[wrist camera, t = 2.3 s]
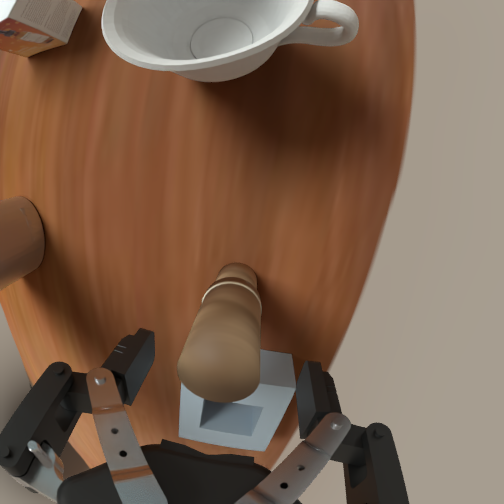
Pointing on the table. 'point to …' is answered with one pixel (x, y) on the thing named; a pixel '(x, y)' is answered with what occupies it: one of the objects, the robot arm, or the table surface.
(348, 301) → the table surface
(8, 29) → the small box
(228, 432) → the hole block
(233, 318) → the walnut peg
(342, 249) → the table surface
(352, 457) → the robot arm
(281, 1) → the teacup
